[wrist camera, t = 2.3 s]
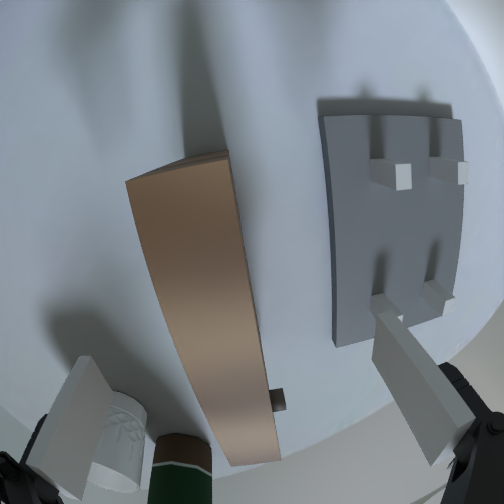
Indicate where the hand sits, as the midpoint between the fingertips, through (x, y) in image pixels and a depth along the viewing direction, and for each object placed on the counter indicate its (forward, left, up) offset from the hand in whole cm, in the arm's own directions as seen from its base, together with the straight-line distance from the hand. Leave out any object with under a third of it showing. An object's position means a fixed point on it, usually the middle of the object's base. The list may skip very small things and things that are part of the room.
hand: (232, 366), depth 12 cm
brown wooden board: (0, 0, -11) cm, 11 cm away
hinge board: (0, +14, -11) cm, 18 cm away
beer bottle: (+25, -11, -11) cm, 29 cm away
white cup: (+16, -16, -11) cm, 25 cm away
